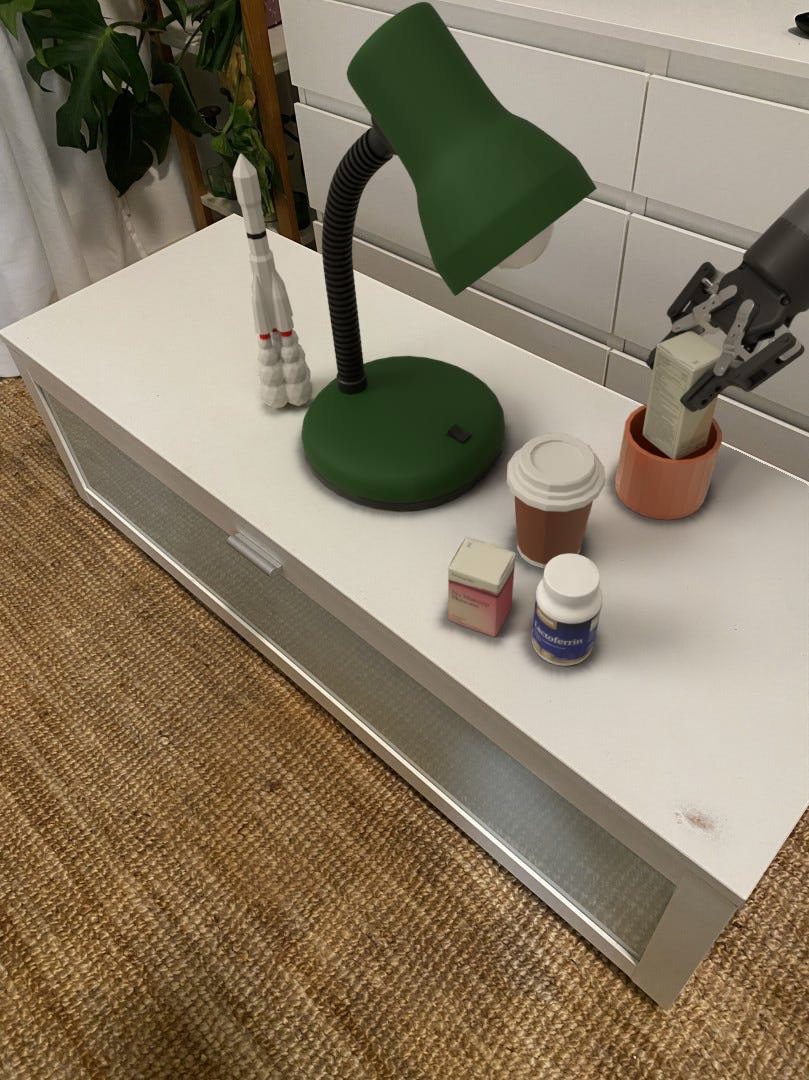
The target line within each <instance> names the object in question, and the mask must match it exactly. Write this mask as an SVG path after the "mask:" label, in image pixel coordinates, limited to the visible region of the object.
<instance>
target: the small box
mask: <svg viewBox="0 0 809 1080" xmlns="http://www.w3.org/2000/svg"><path fill="white" fill-rule="evenodd" d="M516 556H517V554H516V552H514V551H512V550H510V549H507V548H503V547H501V546H497V545H495V544H492V543H489V542H486V541H482V540H479V539H475V538H472V537H469V536H464V538H463V540H462V542H461V543H460V545H459V546H458V548H457V550H456V552H455V554H454V555H453V558H452V559H451V561H450V563H449V565H448V567H447V573H448V574H447V580H448V581H447V588H448V589H447V591H448V593H447V594H448V597H447V598H448V599H447V601H448V602H447V603H448V604H447V605H448V621H450V622H453V623H454V624H457V625H460V626H463V627H466V628H468V629H471V630H474V631H477V632H480V633H482V634H486V635H489V636H492V637H497V635H498V634H499V632H500V630H501V628H502V626H503V625H504V622H505V621H506V619H507V616H508V615H509V613H510V611H511V608H512V605H513V593H514V577H515V567H516Z"/></svg>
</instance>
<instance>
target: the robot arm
mask: <svg viewBox="0 0 809 1080" xmlns="http://www.w3.org/2000/svg"><path fill="white" fill-rule="evenodd" d="M713 294H714V296H713ZM807 311H809V187H808V188H807V189H805V191H803V192H802V193H801V194H800V195H799V196H798V197H797V198H796V199H795V200H794V202H792V203H791V204H790V205H789V206H788V207H787V209H785V210H784V212H783V213H782V214H781V215H780V216H779V217H778V218H777V219H776V220H775V221H773V223H771V225H770V226H769V227H768V228H767V229H766V230H765V231H764V232H763V233H762V234H761V235H760V236H759V237H758V239H756V241H754V242H753V244H751V245H750V247H749V248H748V249H746V251H744V253H743V256H742V261H741V263H740V264H739V265H738V266H737V267H736V268H735V269H732V270H731V271H729V272H727V273H725V272H723V271H721V270H718V269H717V268H716V267H715V265H713V264H712V263H711V262H710V261H705V262H703V263H702V264H701V265H700V266H699V268H698V269H696V272H695V273H694V274H693V275H692V277H691V278H690V279H689V281H688V282H687V283H686V285H685V286H684V288H683V289H682V290H681V292H680V293H679V294H678V296H677V297H676V298H675V299H674V301H672V303H671V305H670V306H669V307H668V309H667V311H666V315H667V317H668V318H669V320H670V323H671V329H670V331H669V332H668V334H666V335H665V336H664V337H663V339H662V340H661V341H660V342H659V343H661V342H664V341H666V340H668V339H671V338H673V337H676V336H678V335H681V334H683V333H685V332H688V331H694V332H695V333H697V334H698V335H700V336H701V337H704V336H706V335H715V334H716V333H718V332H720V331H722V332H723V333H724V334H725V335H726V337H725V339H724V341H723V342H722V351H723V352H722V354H721V356H720V358H719V359H718V361H717V363H716V365H715V367H714V370H713V371H714V372H713V373H712V372H711V371H707V372H706V373H705V374H704V375H703V376H702V377H701V378H700V379H699V380H698V381H697V382H696V383H695V384H694V385H693V386H692V387H691V388H690V389H689V390H688V391H687V392H686V393H685V394H684V395H683V396H682V397H681V399H680V402H681V403H682V404H683V405H684V407H686V408H687V409H688V410H690V411H691V412H695V411H697V410H702V409H704V408H705V407H706V406H707V405H708V404H709V403H711V402H712V401H713V399H715V398H716V397H717V396H718V397H719V395H720V394H721V393H722V392H723V391H724V390H725V389H727V388H728V387H732V386H733V387H736V388H738V389H741V390H743V391H744V392H746V393H750V392H752V391H754V390H755V389H756V388H758V387H759V386H760V385H762V384H763V383H765V382H766V381H767V380H769V379H770V378H771V377H773V376H774V375H776V374H778V373H779V372H780V371H782V370H783V369H784V368H786V367H787V366H789V365H790V364H791V363H793V362H794V361H795V360H797V359H798V358H800V357H801V356H802V355H803V354H804V353H805V350H806V349H805V346H804V345H803V344H802V342H801V341H800V340H799V339H798V338H797V337H796V336H794V334H793V333H792V331H791V330H790V327H791V325H792V323H793V321H794V319H795V317H797V316H798V315H799V314H800V313H805V312H807ZM766 340H768V344H767V345H766V346H764V347H763V348H762V349H760V347H761V346H762V343H763V342H764V341H766ZM656 348H657V345H655V347H654V348H653V349H652V350H651V351H650V353H649V355H648V356H647V357H648V358H646V361H645V364H646V366H647V367H648V368H649V369H650V370H651V371H653V367H654V361H655V355H656ZM759 349H760V350H759ZM718 397H717V398H718Z"/></svg>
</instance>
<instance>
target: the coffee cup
mask: <svg viewBox="0 0 809 1080" xmlns="http://www.w3.org/2000/svg"><path fill="white" fill-rule="evenodd" d="M506 466H507V467H506V469H507V471H506V483H507V485H508V487H509V489H510V491H511V493H512V494H513V496H514V515H515V529H516V531H515V532H516V549H517V551H518V553H519V554H520V557H521V558H522V559H523V560H525V561H526V563H528V564H530V565H531V566H535V567H537V568H540V569H545V567H546V565H547V563H548V562H549V561H550V560H551V559H553V558H554V557H556V556H558V555H562V554H578V555H580V552H581V549H582V543H583V539H584V536H585V534H586V529H587V526H588V522H589V518H590V514H591V511H592V507H593V503H594V501H595V500H596V499H598V498H599V496H600V494H601V492H602V491H603V489H604V487H605V484H606V471H605V466H604V464H603V462H602V461H601V460H600V458H599V457H598V455H597V454H596V453H595V452H594V450H593V449H592V448H591V447H590V445H589V444H588V443H586V442H585V441H583V440H582V439H580V438H579V437H576V436H573V435H569V434H566V433H546V434H542V435H538V436H535V437H533V438H532V439H530V440H528V441H527V442H525V443H524V445H523V446H522V447H520V448H519V449H518V450H516V451H515V452H514V454H513V455H512V457H511V458H510V460H509V461H508V463H507V465H506Z"/></svg>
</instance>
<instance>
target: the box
mask: <svg viewBox="0 0 809 1080" xmlns="http://www.w3.org/2000/svg"><path fill="white" fill-rule="evenodd" d="M660 342H661V341H660ZM660 342H659V343H657V344H656V346H657V348H656V355H655V361H654V367H653V370H652V373H651V379H650V386H649V392H648V397H647V410H646V416H645V422H644V428H643V436H644V437H645V438H646V439H648V440H649V441H650V442H651V443H652V444H654V445H655V446H656V447H658V448H659V449H660V450H661V451H662V452H664V453H665V454H666V455H668V456H669V457H670V458H672V459H674V460H678V459H680V458H682V457H684V456H687V455H689V454H691V453H693V452H695V451H696V450H698V449H700V448H702V447H704V446H706V444H707V440H708V435H709V431H710V427H711V423H712V418H714V413H715V410H716V405H717V401H718V397H719V395H718V396H717V397H716V398H715V399H713V401H712V402H711V403H709V404H708V405H707V406H706V407H705V408H704V409H702V410H697V411H695V412H691V411H690V410H688V409H687V408H686V407H684V405H683V404H682V403H681V402H680V399H681V397H682V396H683V395H684V394H685V393H686V392H687V391H688V390H689V389H690V388H691V387H692V386H693V385H694V384H695V383H696V382H697V381H698V380H699V379H700V378H701V377H702V376H703V375H704V374H705V373H706V372H707V371H711V372H712V373H713V372H714V371H713V370H714V367H715V365H716V363H717V361H718V359H719V358H720V356H721V354H722V352H723V349H721V348H720V347H718V346H717V345H716V344H714V343H713V342H711V341H709V340H707V339H706V338H705V337H704V336H702V337H701V336H700V335H698V334H697V333H695V332H694V331H688V332H685V333H683V334H681V335H678V336H676V337H673V338H671V339H668V340H666V341H664V342H661V343H660Z"/></svg>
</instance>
